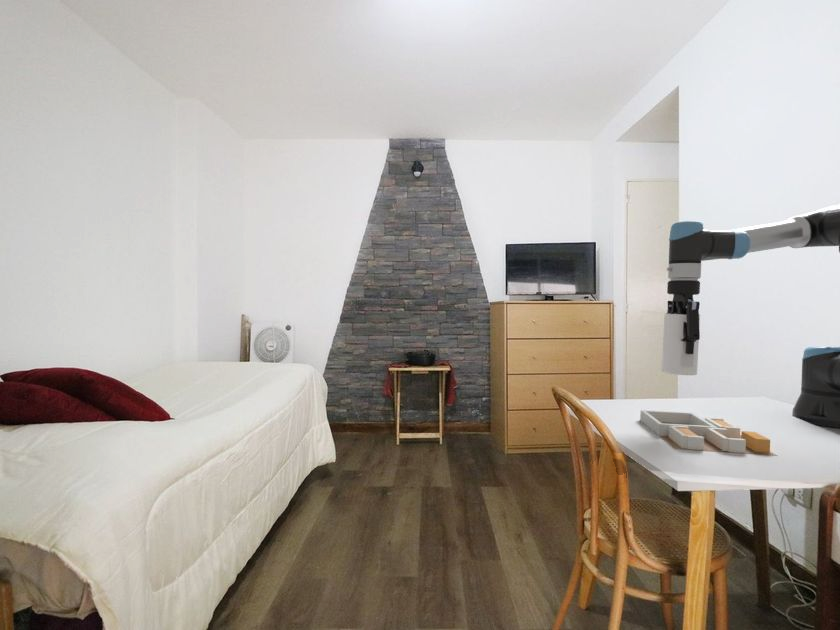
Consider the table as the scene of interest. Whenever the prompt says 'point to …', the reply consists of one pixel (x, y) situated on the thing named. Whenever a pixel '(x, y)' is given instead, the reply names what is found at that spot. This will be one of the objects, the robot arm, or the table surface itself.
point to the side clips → (693, 441)
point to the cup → (676, 346)
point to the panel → (711, 445)
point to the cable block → (756, 441)
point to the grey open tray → (725, 440)
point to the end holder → (662, 429)
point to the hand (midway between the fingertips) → (679, 363)
